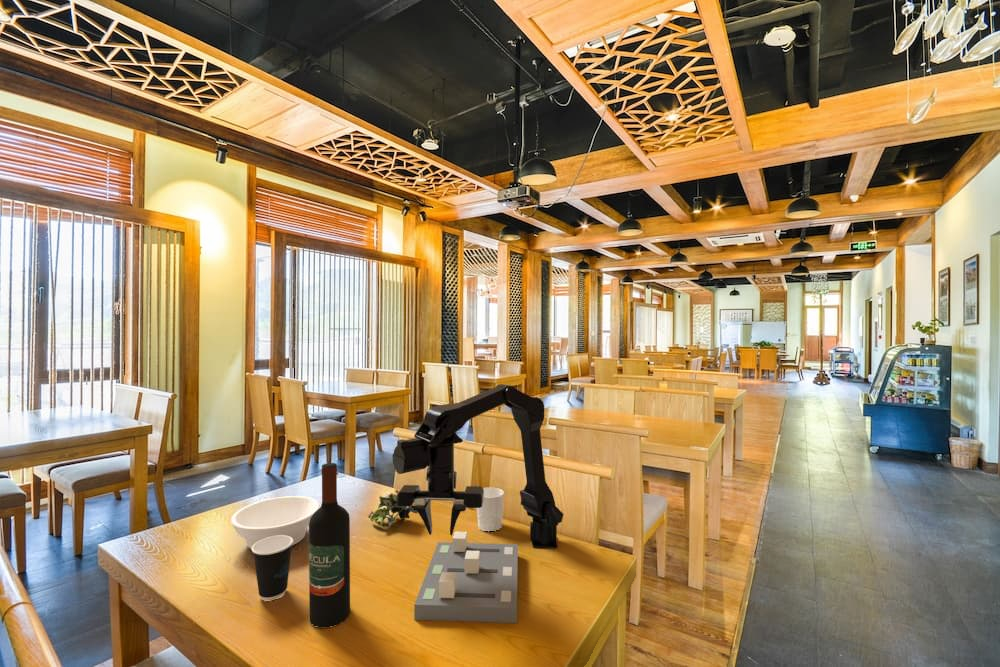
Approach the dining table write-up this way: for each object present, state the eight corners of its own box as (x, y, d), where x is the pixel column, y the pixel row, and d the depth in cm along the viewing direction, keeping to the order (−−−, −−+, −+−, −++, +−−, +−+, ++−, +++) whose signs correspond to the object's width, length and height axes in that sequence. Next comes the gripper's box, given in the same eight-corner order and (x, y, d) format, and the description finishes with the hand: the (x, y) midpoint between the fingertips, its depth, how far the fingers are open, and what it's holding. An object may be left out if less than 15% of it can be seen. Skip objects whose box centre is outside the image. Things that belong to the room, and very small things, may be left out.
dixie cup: (288, 603, 92) (288, 550, 92) (246, 608, 90) (246, 555, 90) (297, 581, 100) (296, 533, 100) (258, 586, 98) (258, 537, 98)
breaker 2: (466, 544, 110) (467, 531, 110) (465, 551, 106) (465, 538, 106) (454, 544, 110) (454, 531, 110) (452, 551, 107) (452, 538, 106)
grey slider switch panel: (517, 556, 111) (517, 543, 111) (516, 623, 86) (516, 607, 86) (438, 553, 112) (438, 541, 112) (414, 619, 87) (414, 604, 87)
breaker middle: (479, 564, 101) (479, 550, 101) (478, 573, 97) (478, 558, 97) (466, 564, 101) (466, 550, 101) (464, 573, 97) (464, 558, 97)
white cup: (507, 523, 129) (507, 489, 129) (498, 535, 122) (498, 499, 122) (482, 519, 132) (482, 485, 132) (471, 531, 125) (471, 495, 124)
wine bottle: (358, 609, 90) (357, 462, 90) (329, 632, 83) (328, 473, 83) (330, 599, 93) (329, 457, 93) (300, 621, 87) (299, 468, 86)
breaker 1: (456, 587, 92) (456, 572, 92) (453, 598, 88) (453, 582, 88) (442, 587, 92) (441, 572, 92) (438, 597, 89) (438, 581, 89)
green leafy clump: (401, 537, 132) (425, 504, 132) (385, 548, 121) (412, 512, 122) (374, 512, 135) (398, 480, 135) (356, 520, 124) (382, 485, 125)
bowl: (211, 552, 113) (211, 520, 113) (280, 518, 132) (280, 491, 132) (272, 569, 105) (272, 535, 105) (336, 531, 124) (336, 502, 124)
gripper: (485, 454, 107) (485, 519, 107) (408, 453, 107) (408, 517, 108) (481, 469, 95) (481, 542, 96) (395, 468, 96) (395, 539, 97)
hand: (441, 534), depth 99 cm, fingers open, 4 cm apart
